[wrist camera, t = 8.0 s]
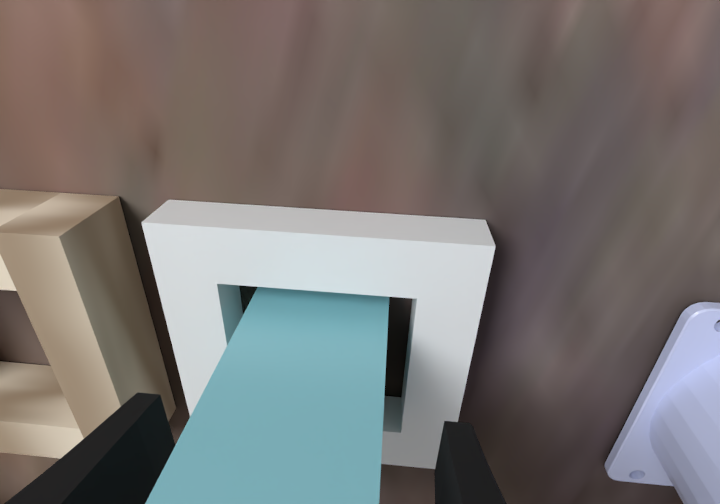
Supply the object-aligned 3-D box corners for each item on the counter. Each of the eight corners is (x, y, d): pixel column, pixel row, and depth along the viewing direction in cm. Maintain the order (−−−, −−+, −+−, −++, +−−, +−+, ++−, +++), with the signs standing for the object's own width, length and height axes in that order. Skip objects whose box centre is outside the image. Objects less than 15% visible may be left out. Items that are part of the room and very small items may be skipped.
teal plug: (389, 286, 13) (374, 594, 6) (382, 379, 15) (364, 689, 8) (262, 277, 13) (114, 563, 7) (271, 370, 15) (165, 663, 9)
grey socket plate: (485, 219, 12) (495, 246, 10) (443, 433, 16) (447, 470, 15) (168, 199, 12) (141, 222, 11) (213, 411, 17) (197, 445, 16)
